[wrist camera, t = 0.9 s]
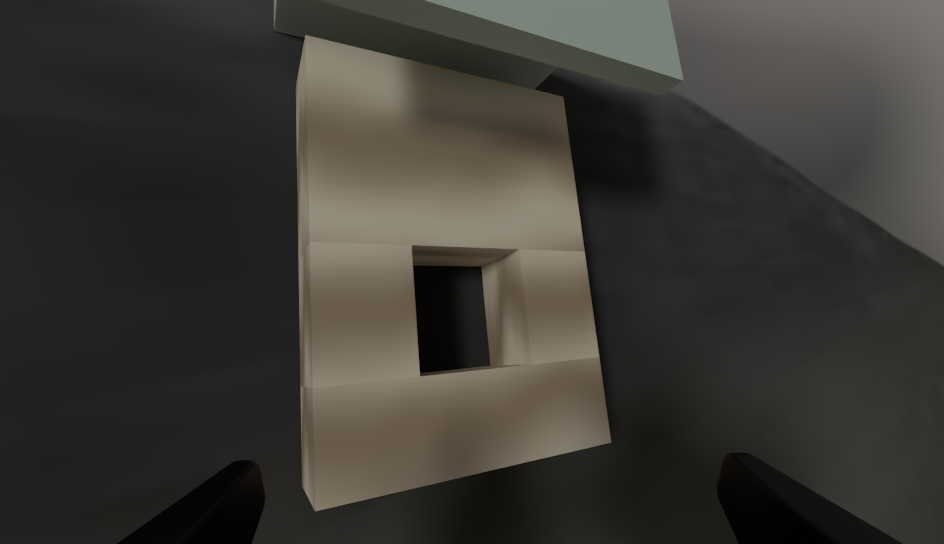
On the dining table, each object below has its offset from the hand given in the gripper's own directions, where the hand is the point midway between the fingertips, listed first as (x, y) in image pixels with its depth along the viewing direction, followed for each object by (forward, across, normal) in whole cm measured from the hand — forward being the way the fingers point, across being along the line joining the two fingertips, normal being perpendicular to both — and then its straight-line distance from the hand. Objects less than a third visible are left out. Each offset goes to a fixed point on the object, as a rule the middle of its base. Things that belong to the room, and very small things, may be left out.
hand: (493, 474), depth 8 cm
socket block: (+16, +2, +1) cm, 16 cm away
